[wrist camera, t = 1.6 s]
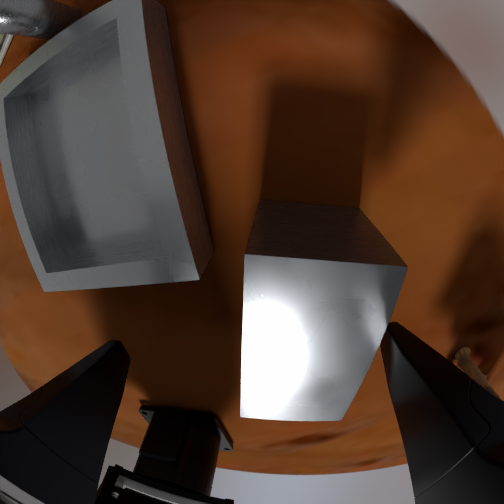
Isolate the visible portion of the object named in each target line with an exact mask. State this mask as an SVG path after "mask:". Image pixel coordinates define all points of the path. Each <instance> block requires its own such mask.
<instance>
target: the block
mask: <svg viewBox="0 0 504 504" xmlns="http://www.w3.org/2000/svg"><path fill="white" fill-rule="evenodd" d="M407 268H408V266H407V265H406V264H405V263H404V261H403V260H402V259H401V257H400V256H399V255H398V254H397V252H396V251H395V250H394V249H393V247H392V246H391V245H390V244H389V243H388V241H387V240H386V239H385V238H384V236H383V235H382V234H381V233H380V232H379V231H378V229H377V228H376V227H375V226H374V225H373V224H372V222H371V221H370V220H369V219H368V218H367V217H366V216H365V214H364V213H363V212H362V211H361V210H360V209H358V208H350V207H341V206H331V205H321V204H311V203H300V202H288V201H275V200H261V199H260V200H259V204H258V208H257V211H256V215H255V219H254V222H253V226H252V229H251V233H250V237H249V240H248V244H247V248H246V251H245V260H244V291H243V326H242V363H241V406H240V417H247V418H257V419H270V420H289V421H338V420H342V418H343V416H344V414H345V413H346V411H347V409H348V407H349V406H350V404H351V402H352V400H353V398H354V396H355V395H356V393H357V391H358V389H359V387H360V385H361V383H362V381H363V379H364V377H365V375H366V373H367V371H368V369H369V367H370V364H371V362H372V360H373V358H374V356H375V354H376V351H377V349H378V347H379V345H380V342H381V340H382V337H383V335H384V333H385V330H386V328H387V325H388V323H389V320H390V318H391V315H392V312H393V310H394V307H395V304H396V301H397V299H398V296H399V293H400V290H401V287H402V284H403V281H404V278H405V274H406V271H407Z"/></svg>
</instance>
